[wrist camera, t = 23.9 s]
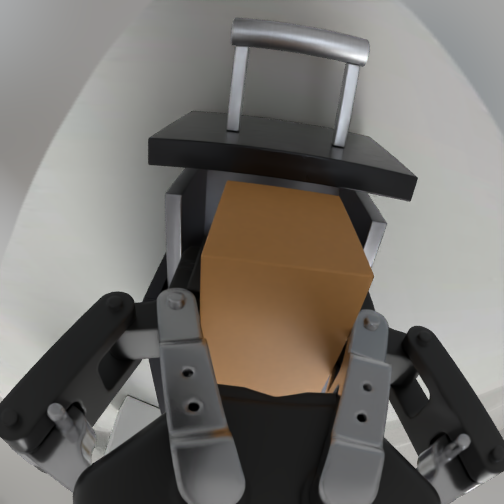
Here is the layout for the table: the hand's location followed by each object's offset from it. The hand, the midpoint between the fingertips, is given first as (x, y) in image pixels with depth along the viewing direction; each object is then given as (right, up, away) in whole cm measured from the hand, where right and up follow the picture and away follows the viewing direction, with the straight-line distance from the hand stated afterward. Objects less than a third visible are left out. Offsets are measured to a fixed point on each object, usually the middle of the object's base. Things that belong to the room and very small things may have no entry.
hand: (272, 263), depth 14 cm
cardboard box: (0, 0, +1) cm, 1 cm away
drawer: (+1, +5, +7) cm, 9 cm away
